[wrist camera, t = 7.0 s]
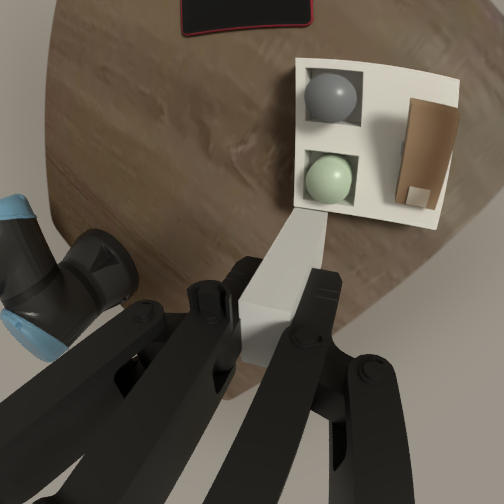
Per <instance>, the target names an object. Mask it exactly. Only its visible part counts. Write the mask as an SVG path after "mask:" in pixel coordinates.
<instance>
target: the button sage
mask: <svg viewBox="0 0 504 504" xmlns="http://www.w3.org/2000/svg"><path fill="white" fill-rule="evenodd" d="M352 177H353V168H352V165H351V163H350V161H349V160H348V159H347V158H346V157H345V156H343V155H342V154H340V153H332V152H327V153H324V154H322V155H320V156H319V157H318V158H317V159H316V161H315V162H314V164H313V165H312V166H311V168H310V169H309V171H308V173H307V175H306V188H307V190H308V192H309V194H310V195H311V196H312V197H313V198H314V199H315V200H316V201H318V202H320V203H323V204H336V203H339V202H341V201H342V200H343V199H344V198H345V197H346V196H347V195H348V193H349V190H350V186H351V181H352Z"/></svg>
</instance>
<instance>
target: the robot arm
mask: <svg viewBox="0 0 504 504" xmlns="http://www.w3.org/2000/svg"><path fill="white" fill-rule="evenodd" d="M327 216H328V213H327V212H321V211H314V210H308V209H302V208H294V209H293V211H292V213H291V214H290V216H289V218H288V219H287V221H286V223H285V224H284V226H283V228H282V229H281V231H280V233H279V234H278V236H277V238H276V239H275V241H274V243H273V244H272V246H271V248H270V249H269V251H268V253H267V254H266V256H265V258H264V259H260V258H255V257H250V256H246V257H244V258H243V259H241V260H239V261H238V262H236V264H235V265H234V267H233V268H232V269H231V272H229V274H228V275H227V276H226V279H224V280H223V282H219V281H216V280H204V281H199V282H197V283H194V284H192V285H191V286H190V287H189V288H187V292H188V298H189V304H190V311H189V313H164V310H163V306H162V305H161V304H160V303H159V302H156V301H153V300H142V301H138V302H136V303H134V304H132V305H130V306H129V307H127V308H126V309H125V310H123V311H122V312H121V313H119V314H118V315H117V316H115V317H114V318H112V319H111V320H109V321H108V322H107V323H106V324H104V325H103V326H101V327H100V328H99V329H97V330H96V331H95V332H93V333H92V334H90V335H89V336H88V337H86V338H85V339H84V340H82V341H81V342H80V343H78V344H77V345H76V346H74V347H73V348H72V349H70V350H69V351H68V352H66V353H65V354H64V355H62V354H63V353H64V352H65V351H67V350H68V349H69V347H70V346H71V345H72V344H73V342H74V341H75V340H76V339H77V338H78V337H79V336H80V335H81V333H83V332H84V331H85V330H86V329H87V328H88V326H90V325H91V323H92V322H93V321H94V320H95V319H96V318H97V317H98V316H99V315H100V314H101V313H102V312H104V311H106V310H108V309H110V308H112V307H115V306H117V305H119V304H121V303H123V302H126V301H127V300H128V299H129V298H130V297H131V296H132V295H133V294H134V293H135V292H136V290H137V288H138V274H137V271H136V268H135V265H134V263H133V261H132V259H131V257H130V256H129V254H128V253H127V251H126V250H125V249H124V247H123V246H122V245H121V244H120V243H119V242H118V241H117V240H116V239H115V238H114V237H112V236H111V235H110V234H108V233H106V232H104V231H102V230H99V229H89V230H87V231H86V232H84V233H83V234H81V235H80V236H79V237H78V238H77V239H76V240H75V243H74V244H73V245H72V247H71V248H70V250H69V251H68V253H67V254H66V256H65V257H64V259H63V260H62V261H61V262H60V263H59V264H58V265H57V263H56V261H55V259H54V257H53V255H52V253H51V251H50V249H49V247H48V244H47V243H46V240H45V238H44V236H43V233H42V231H41V229H40V226H39V224H38V222H37V219H36V218H37V217H36V215H34V213H33V211H32V209H31V207H30V204H29V202H28V200H27V199H26V197H25V196H23V195H21V194H14V195H11V196H8V197H5V198H2V199H0V300H1V302H2V303H3V305H4V307H5V309H2V312H1V314H0V318H1V320H2V321H3V323H4V325H5V326H6V328H7V329H8V330H9V331H10V333H11V334H12V335H13V336H14V337H15V338H16V339H17V340H18V341H19V342H20V343H21V344H22V345H23V346H24V347H25V348H26V349H27V350H28V351H30V352H31V353H32V354H33V355H34V356H36V357H37V358H39V359H40V360H42V361H45V362H53V361H54V362H53V363H52V364H50V365H49V366H48V367H46V368H45V369H44V370H42V371H41V372H40V373H38V374H37V375H36V376H35V377H33V378H32V379H31V380H30V381H28V382H27V383H26V384H24V385H23V386H22V387H20V388H19V389H18V390H16V391H15V392H14V393H13V394H11V395H10V396H9V397H8V398H6V399H5V400H4V401H2V402H1V403H0V504H22V503H24V502H26V501H27V500H29V499H30V498H32V497H33V496H35V495H36V494H37V493H38V492H40V490H42V489H43V488H44V487H46V486H47V485H48V484H49V483H51V482H52V481H53V480H54V479H55V478H57V477H58V476H59V475H60V474H61V473H63V472H64V471H65V470H66V469H67V468H68V467H70V466H71V465H72V464H73V463H74V462H76V461H77V460H78V459H79V458H80V457H81V456H83V455H84V454H85V455H84V456H83V457H82V459H81V460H80V462H79V463H78V464H77V466H76V467H75V469H74V470H73V471H72V473H71V474H70V476H69V477H68V478H67V480H66V481H65V483H64V484H63V485H62V487H61V488H60V490H59V491H58V492H57V493H56V494H55V495H53V496H49V497H43V498H40V499H38V500H36V501H35V502H33V504H164V503H165V501H166V499H167V498H168V496H169V494H170V492H171V491H172V489H173V487H174V485H175V484H176V482H177V480H178V478H179V477H180V475H181V473H182V471H183V470H184V468H185V466H186V464H187V462H188V460H189V459H190V457H191V455H192V453H193V452H194V450H195V448H196V446H197V444H198V442H199V441H200V439H201V437H202V435H203V433H204V431H205V429H206V427H207V425H208V424H209V422H210V420H211V418H212V416H213V414H214V412H215V411H216V409H217V407H218V405H219V403H220V401H221V399H222V397H223V395H224V394H225V392H226V390H227V388H228V386H229V384H230V382H231V380H232V378H233V376H234V374H235V370H236V360H237V358H238V356H239V354H240V352H241V361H243V362H247V363H250V364H254V365H258V366H261V367H265V368H267V370H266V372H265V374H264V377H263V379H262V381H261V384H260V386H259V388H258V390H257V393H256V395H255V397H254V399H253V401H252V404H251V406H250V408H249V410H248V412H247V414H246V417H245V419H244V421H243V423H242V425H241V427H240V429H239V432H238V434H237V436H236V438H235V440H234V442H233V444H232V446H231V448H230V450H229V452H228V454H227V456H226V459H225V461H224V462H223V465H222V467H221V469H220V471H219V473H218V474H217V476H216V479H215V480H214V483H213V484H212V486H211V488H210V490H209V492H208V494H207V496H206V498H205V500H204V502H203V503H202V504H277V503H278V501H279V498H280V496H281V493H282V491H283V488H284V485H285V483H286V480H287V477H288V475H289V472H290V469H291V467H292V464H293V461H294V458H295V455H296V453H297V450H298V447H299V444H300V441H301V438H302V435H303V431H304V428H305V425H306V422H307V419H308V416H309V413H310V410H312V411H314V412H315V413H317V414H319V415H321V416H322V417H324V418H326V419H328V420H329V504H415V499H414V488H413V478H412V469H411V461H410V454H409V446H408V439H407V433H406V427H405V421H404V415H403V409H402V404H401V399H400V393H399V388H398V384H397V379H396V374H395V372H394V369H393V366H392V365H391V364H390V363H389V362H388V361H387V360H386V359H384V358H382V357H380V356H378V355H373V354H365V355H360V356H358V357H356V358H353V357H351V356H349V355H347V354H345V353H344V352H342V351H341V350H340V349H339V348H338V347H337V346H336V345H335V344H334V342H333V340H332V336H331V334H332V328H333V324H334V319H335V315H336V311H337V306H338V301H339V297H340V292H341V287H342V280H341V277H340V275H339V273H337V272H332V271H327V270H322V269H320V268H321V265H322V257H323V250H324V242H325V234H326V225H327ZM136 354H137V356H136V357H134V356H135V355H136ZM61 355H62V356H61ZM60 356H61V357H60ZM58 357H60V358H58ZM132 357H134V358H132ZM57 358H58V359H57ZM56 359H57V360H56ZM55 360H56V361H55Z"/></svg>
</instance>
